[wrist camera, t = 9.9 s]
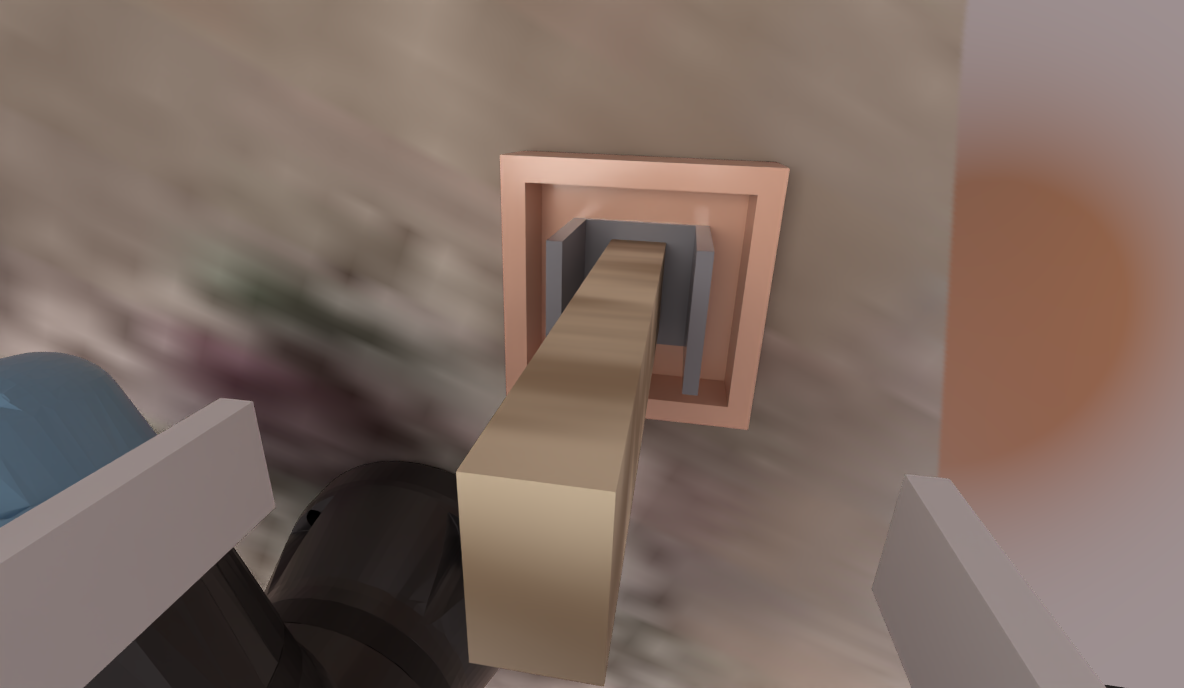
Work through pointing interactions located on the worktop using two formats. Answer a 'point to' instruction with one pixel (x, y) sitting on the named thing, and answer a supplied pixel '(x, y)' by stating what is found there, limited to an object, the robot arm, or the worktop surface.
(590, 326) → the bar
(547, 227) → the square copper tray
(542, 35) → the worktop surface
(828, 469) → the worktop surface
